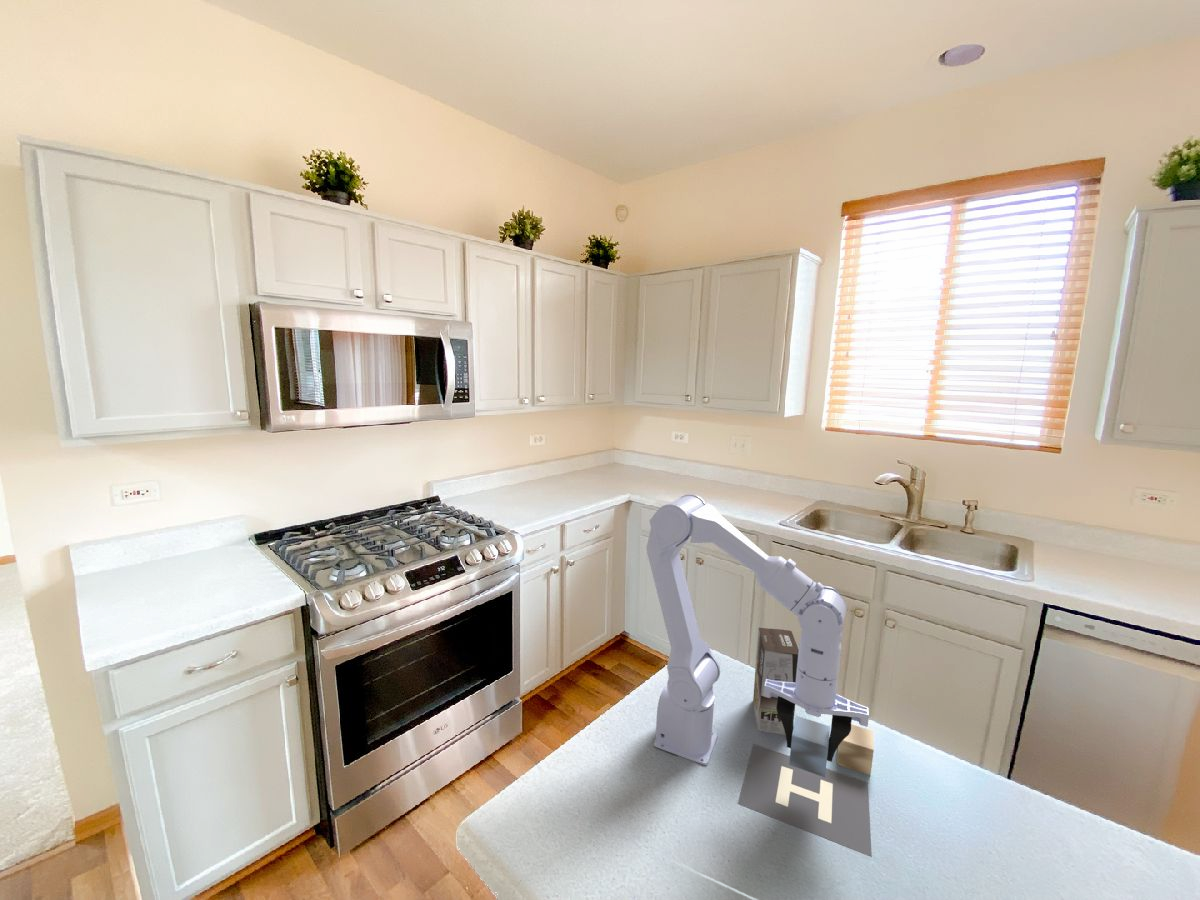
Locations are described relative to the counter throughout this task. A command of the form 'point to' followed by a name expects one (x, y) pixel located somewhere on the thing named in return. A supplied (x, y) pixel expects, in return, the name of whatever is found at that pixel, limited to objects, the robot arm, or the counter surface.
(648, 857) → the counter surface
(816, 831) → the letter mat
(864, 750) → the oak block
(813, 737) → the slate blue cube
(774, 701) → the coffee box
